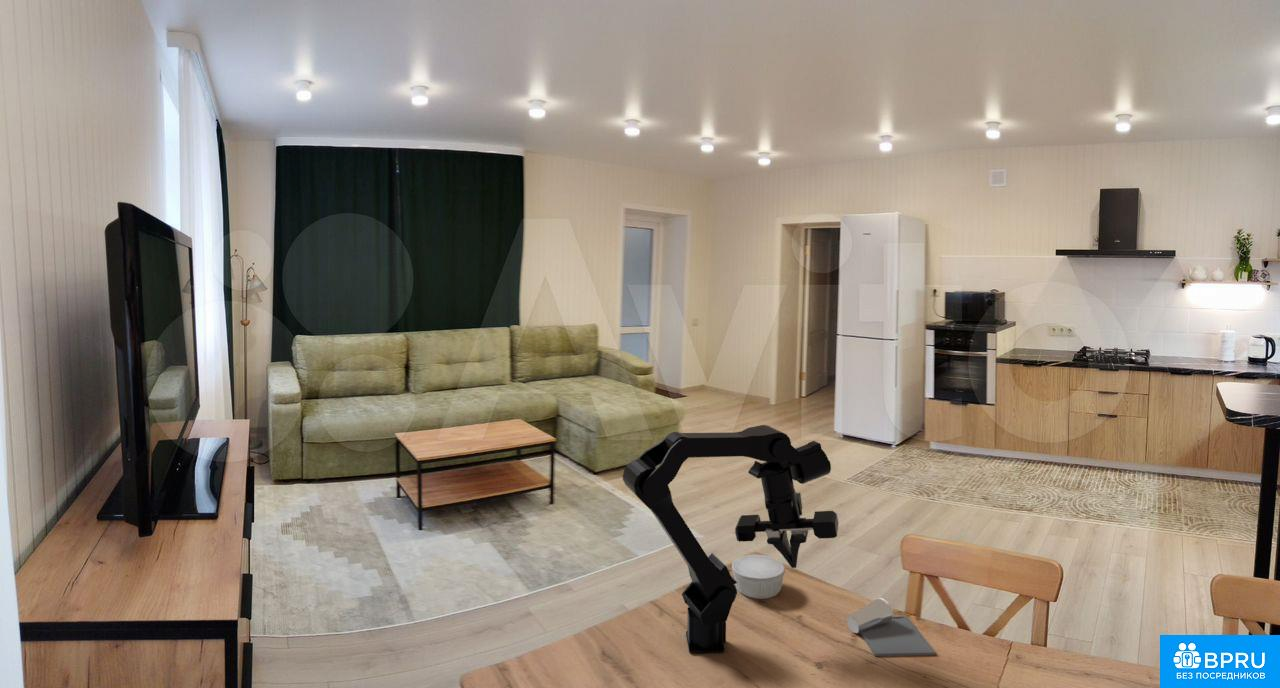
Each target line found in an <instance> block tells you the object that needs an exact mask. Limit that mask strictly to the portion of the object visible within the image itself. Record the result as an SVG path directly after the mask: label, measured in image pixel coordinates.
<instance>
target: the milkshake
mask: <svg viewBox="0 0 1280 688" xmlns="http://www.w3.org/2000/svg"><path fill="white" fill-rule="evenodd" d="M903 617H904V616H901V615H900V616H894V609H893V607H892V605H891V603H890V601H888V600H886V599H885V598H883V597H878V598H876V599H874V600H873V601H872V602H870V603H869V604H867V605H865V606H863V607H861V608H859V609H858V610H856V611H855V612H853V613H851V614H849V615H848V616H847V618H846V624H847V627H848V628H849V630H850V631H851V632H852V633H854V634H860V632H862V631H865V630H868V629H871V628H873V627H876V626H879V625H882V624H885V623H888V622H891V621H892V619H898V618H903Z"/></svg>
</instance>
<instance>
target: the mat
mask: <svg viewBox="0 0 1280 688" xmlns="http://www.w3.org/2000/svg"><path fill="white" fill-rule="evenodd" d="M859 634H860V635H861V637H862V638H863V640H864V642H865V643H866V645H867V646H868V647H869V649H870V651H871V653H872V654H873V656H874V657H900V656H901V657H906V656H910V657H911V656H936V651H935V650H934V649H933V647H932V646H931V645H930V644H929V642H928V641H927V640H926V638H925V637H924V636H923V635H922V633H921V632H920V631H919V629H918V628H917V627H916V626H915V624H914V623H913V622H912V621H911V619H910V618H909V617H908V616H904V617H903V618H898V619H892V621H891V622H888V623H885V624H882V625H879V626H876V627H873V628H871V629H868V630H865V631H862V632H860V633H859Z"/></svg>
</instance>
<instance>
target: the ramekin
mask: <svg viewBox="0 0 1280 688" xmlns="http://www.w3.org/2000/svg"><path fill="white" fill-rule="evenodd" d="M785 569H786V567H785V565H784V564H783V563H782V562H781V561H780V560H778V559H776V558H774V557H772V556H768V555H762V554H750V555H749V554H747V555H743V556H740V557H738V558H736V559H735V560H734V561H733V562H732V564H731V571H732V573H733V579H735V580H736V581H737V583H736V584H734V585H735V587H736V589H737V591H739V593H740V594H742V595H743V596H746V597H748V598H751V599H755V600H756V599H758V600H765V599H770V598H773V597H775V596H776V595H778V594H779V593H780V591H781V589H782V585H783V580H784V576H785V573H786V570H785Z"/></svg>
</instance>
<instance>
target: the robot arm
mask: <svg viewBox="0 0 1280 688" xmlns="http://www.w3.org/2000/svg"><path fill="white" fill-rule="evenodd" d="M725 457H726V458H727V457H728V458H729V457H730V458H731V457H744V458H749V459H750V458H751V459H754V460H755V461H754V462H753V465H752V466H751V467H750V468H749V469H748V471H747V473H748V474H749V475H751V476H753V477H754V478H756V479H757V480H759V479H760V481H761V486H762V490H763V497H764V505H765V510H767V514H768V520H762V519H761V517H760V514H746V515H745V514H744V515H742V514H741V516H740V517H739V519H738V521H737V524H736V525H735V528H734V529H735V537H736V541H737V542H740V543H741V542H752V541H754V540H755V538H756V537H757V533H762V532H764V533H765V534H766V535H767V536H766V537H767V540H766V542H767V544H768V545H773V547H774V548H775V549H776V550H777V551H778V552H779V553H780V554H781V555H782V557H783V558H784V559H785V561H786V562H787V563H788V565H789V566H790V567H791V568H792V569H796V568H797V565H798V556H799V549H800V546H801V544H804V543H805V544H806V543H807V539H808V533H809V531H810V530H812V531H813V535H814V536H815V537H816V538H818V539H834V538H837V537H838V532H839V519H838V518H839V517H838V514H837V513H836V512H835V511H834V510H821V511H820V510H819V511H814V513H813V514H814V515H813V518H806V517H801V516H802V515H803V501H802V494H801V492H796V489H795V486H794V485H795V484H794V481H796V482H798V483H799V484H801V485H803V484H806V483H808V482H809V483H810V482H811V481H814V480H816V479H817V480H818V479H819V478H822V477H825V476H827V475H830V474H831V470H832V465H831V461H830V460H829V457H828V455H827V453H826V452H825V451H824V450H823V449H822V444H821V442H820V443H819V442H818V441H815V440H812V441H810V442H808V443H806V444H804V445H802V446H799V447H794V446H793V445H792V441H791V439H790V437H789V435H788V434H787V433H784V432H782V431H781V430H778V429H776V428H774V427H772V426H769V425H765V424H761V425H755V426H750V427H747V428H744V429H743V430H741V431H735V432H679V431H673V432H670V433H668V434H667V435H666V436H664V438H663V439H662V440H661V441H660V442H658V443H656V444H654V445H653V446H651V447H648V449H646V450H644V452H643V453H641V454H640V455H639V456H638V458H637V459H633V460H631V461H630V462H628V464H627V465H626V466H625V468H624V469H623V473H622V481H623V482H624V485H625V486H626V487H627V488H628V489H629V490H630V491H631V492H632V493H633V494H634V495H635V496H636V497H637V498H638V499H639V500H640V501H641V502H642V503H643V504H644V505H645V506H646V507H647V508H648V509H649V510H650V511H651V513H652V514H653V515H654V517H655V519H656V520H657V521H658V524H660V526H661V527H662V529H663V530H664V533H665V534H666V535H667V536H668V538H669V540H670V541H671V543H672V545H674V547H675V549H676V550H677V551H678V553H679V555H680V556H681V558H682V559H683V561H684V563H686V565H687V567H688V573H689V577H690V580H691V583H689V584H688V585H687V587H686V588H685V589H684V590H683V592H682V593H681V597H682V599H683V601H684V603H685V605H687V619H686V621H687V625H686V626H687V630H686V632H685V636H686V641H687V642H686V644H687V648H688V649H687V650H688V653H690V654H701V653H702V654H703V653H704V654H705V653H706V654H707V653H711V654H713V653H725V646H724V645H725V644H726V642H727V620H728V617H729V614H730V612H731V609H732V606H733V603H735V602H734V601H735V600H736V598H737V595H738V589H737V588H736V585H735V584H736V583H737V581H736V580H735V579H734V577H732V575H731V573H730V570H729V569H728V567H727V565H725V563H724V562H722V560H720V558H718V556H716V554H714V553H713V552H711V553H710V554H709V555H707V554H706V552H705V551H704V549H703V548H702V546H701V545H700V543H699V541H698V540H697V538H696V537H695V535H694V534H693V532H692V530H691V529H690V528H689V526H688V524H687V523H686V522H685V519H684V518H683V516H682V515H681V513H680V512H679V511H678V509H677V507H676V506H675V504H674V502H673V497H672V496H673V495H672V491H671V489H670V487H669V485H670V483H671V482H673V480H674V479H675V478H676V477H677V475H678V473H679V471H680V469H681V468H682V465H683V464H684V463H685V462H686V461H687V459H688V458H725ZM759 461H761V462H762V463H761V462H759ZM787 531H790V533H791V535H790V538H789V539H788V532H787Z"/></svg>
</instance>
